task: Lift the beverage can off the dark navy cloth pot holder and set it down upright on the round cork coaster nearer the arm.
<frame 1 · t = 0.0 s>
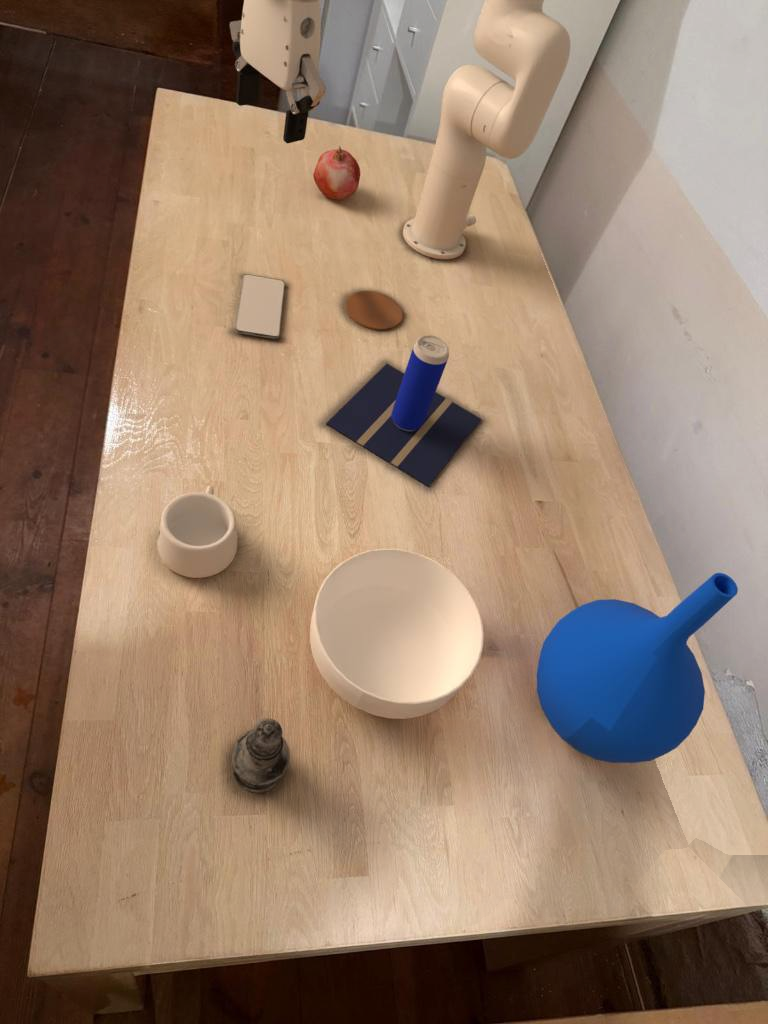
hand: (270, 121, 97), 31 cm above the table, tool pointing down, fingers open, 9 cm apart
dark stone chess piece: (258, 767, 79), on the table
beverage can: (406, 421, 114), resting on pot holder
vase: (584, 709, 92), on the table
coaster: (374, 311, 129), on the table
bowl: (383, 654, 90), on the table
mug: (199, 541, 94), on the table
pot holder: (406, 422, 114), on the table
fruit: (333, 194, 149), on the table
smartphone: (260, 308, 123), on the table
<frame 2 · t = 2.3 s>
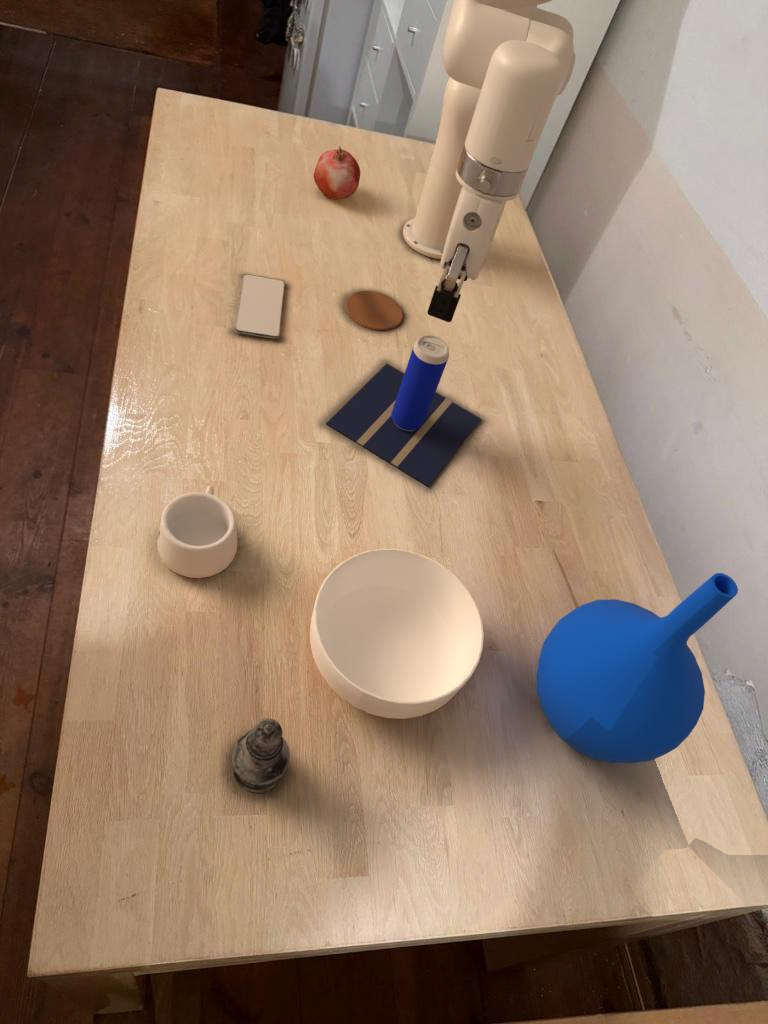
hand: (447, 296, 96), 24 cm above the table, tool pointing down, fingers open, 9 cm apart
nothing on the table moved.
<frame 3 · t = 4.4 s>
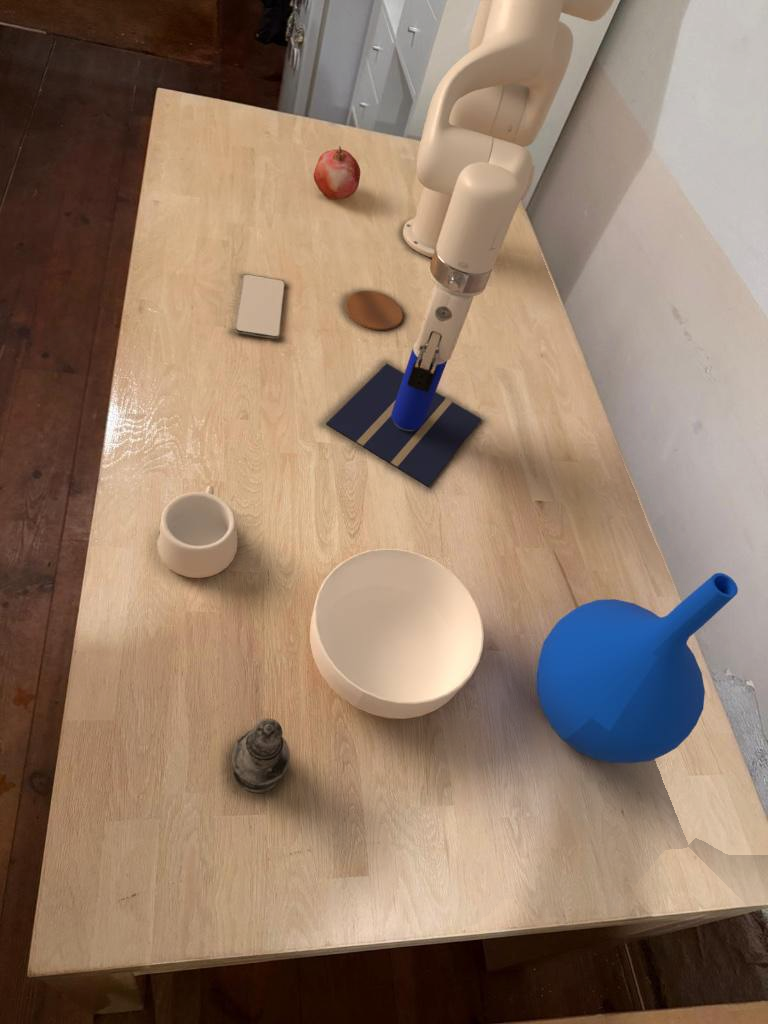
hand: (423, 373, 107), 10 cm above the table, tool pointing down, fingers closed on beverage can, 5 cm apart
beverage can: (406, 421, 114), resting on pot holder, touching gripper
everything else where it was.
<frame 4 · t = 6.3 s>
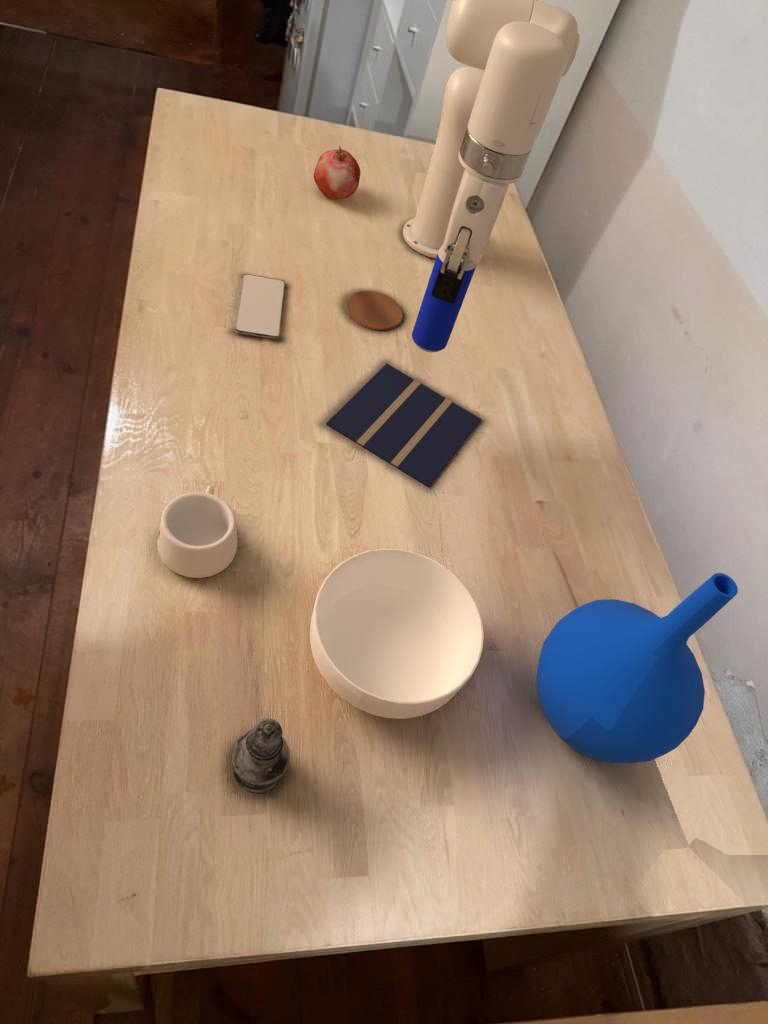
hand: (448, 284, 97), 24 cm above the table, tool pointing down, fingers closed on beverage can, 5 cm apart
beverage can: (428, 342, 105), point 14 cm above the table, touching gripper
everything else where it was.
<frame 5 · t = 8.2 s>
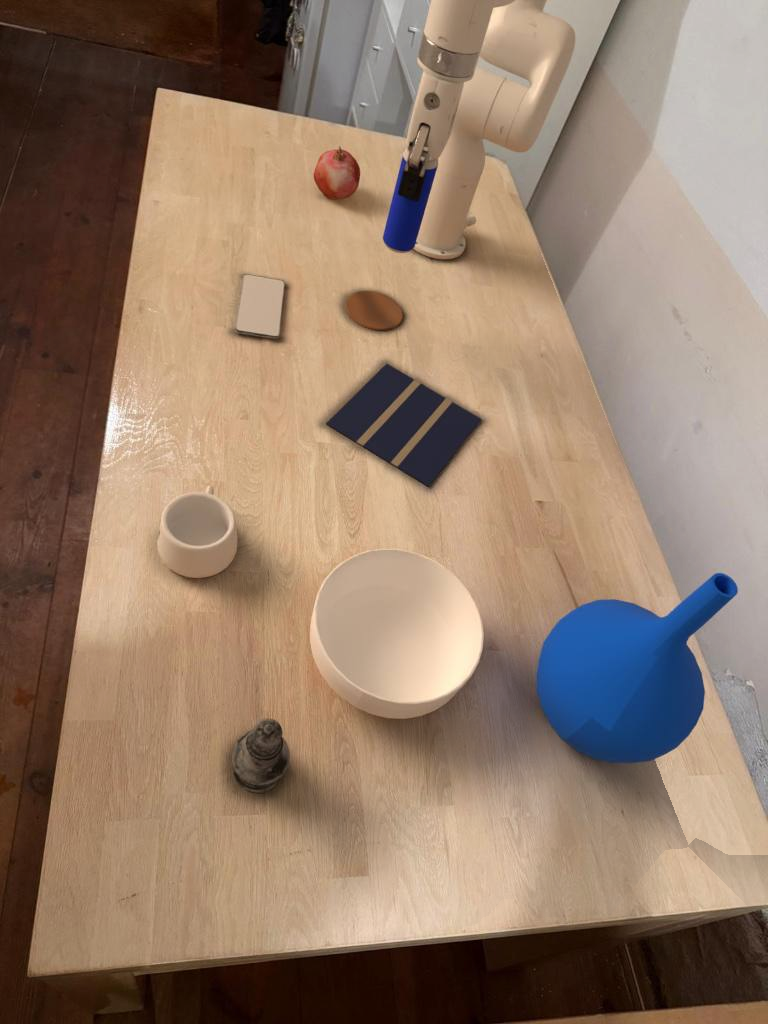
hand: (413, 186, 108), 25 cm above the table, tool pointing down, fingers closed on beverage can, 5 cm apart
beverage can: (397, 245, 116), point 15 cm above the table, touching gripper
everything else where it was.
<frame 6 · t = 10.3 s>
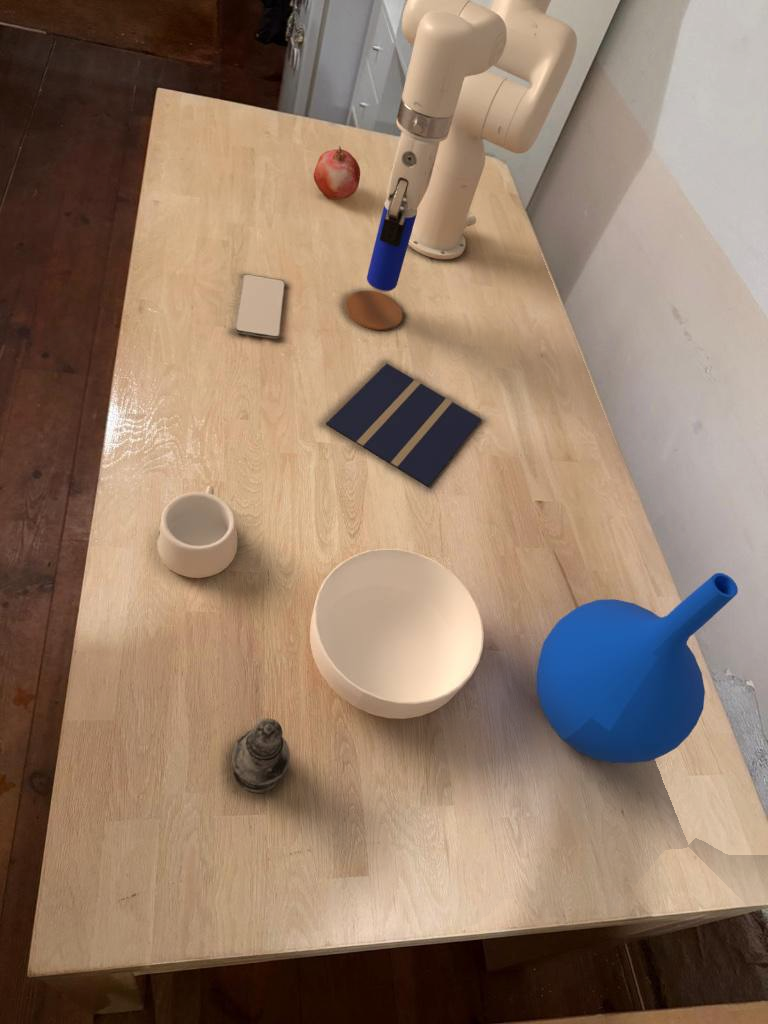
hand: (394, 232, 117), 16 cm above the table, tool pointing down, fingers closed on beverage can, 5 cm apart
beverage can: (380, 284, 125), point 6 cm above the table, touching gripper
everything else where it was.
when the fingers open (10 cm above the table, at t = 12.0 s): beverage can stays where it is, resting on coaster.
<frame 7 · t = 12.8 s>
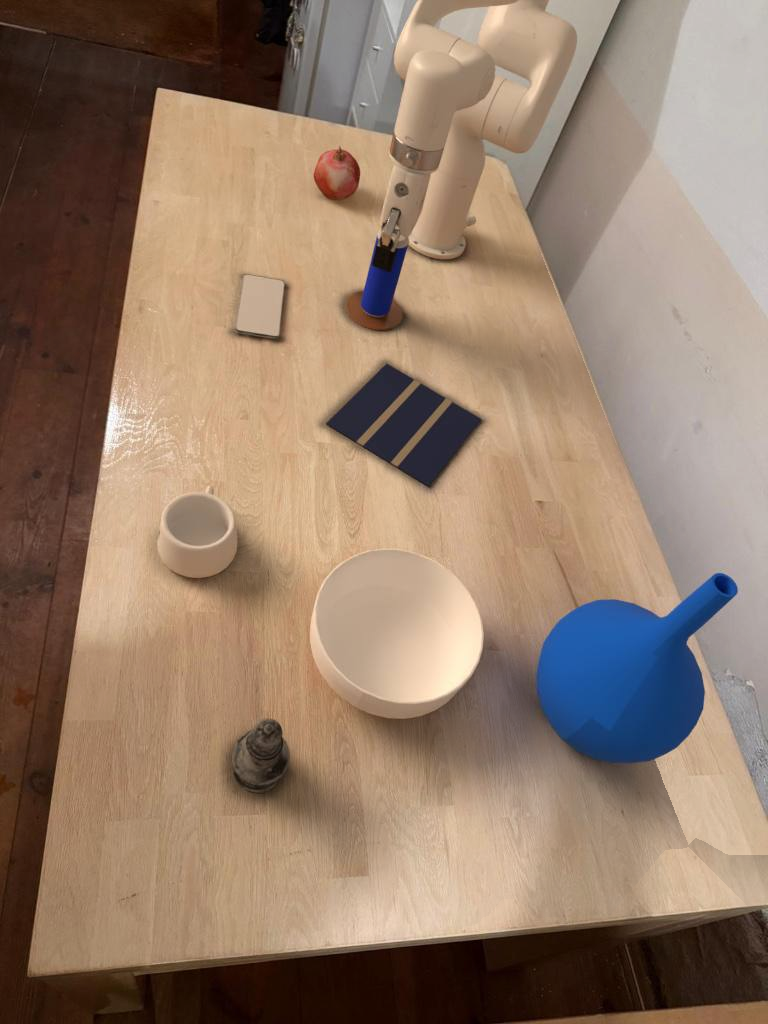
hand: (389, 252, 120), 12 cm above the table, tool pointing down, fingers open, 9 cm apart
beverage can: (374, 310, 129), resting on coaster
everything else where it was.
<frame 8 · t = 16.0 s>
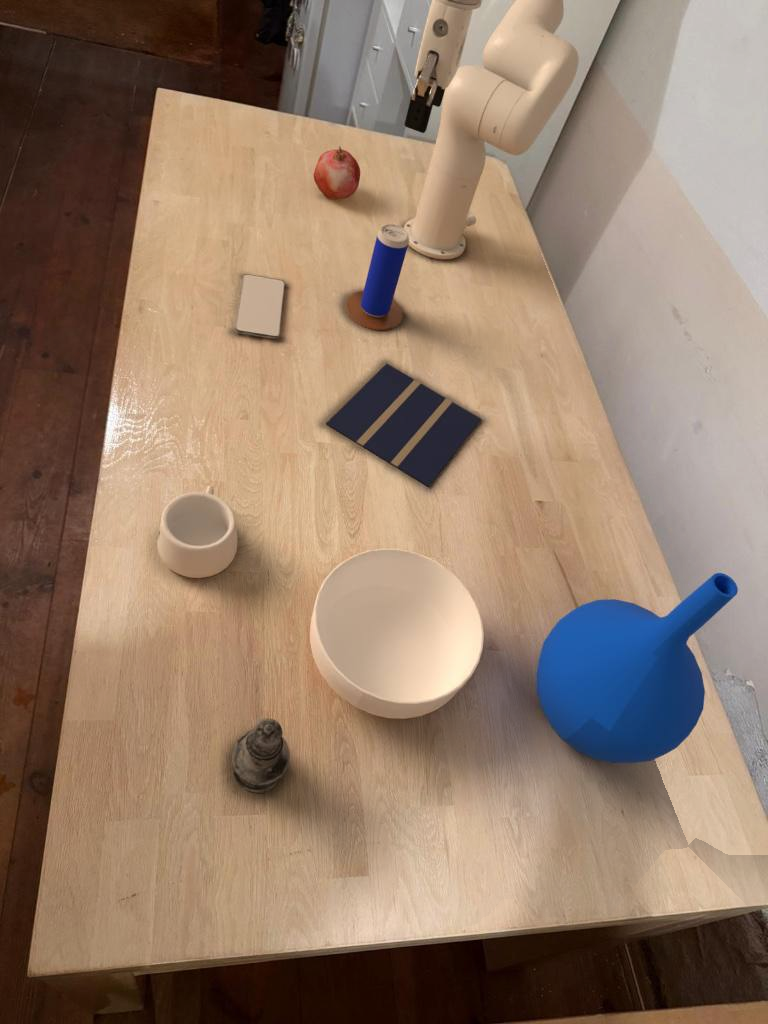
hand: (422, 115, 110), 30 cm above the table, tool pointing down, fingers open, 9 cm apart
nothing on the table moved.
at the end: beverage can 0.0 cm off-centre on the coaster, point 0.2 cm above the coaster's base; beverage can tilted 0°; beverage can touching coaster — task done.
